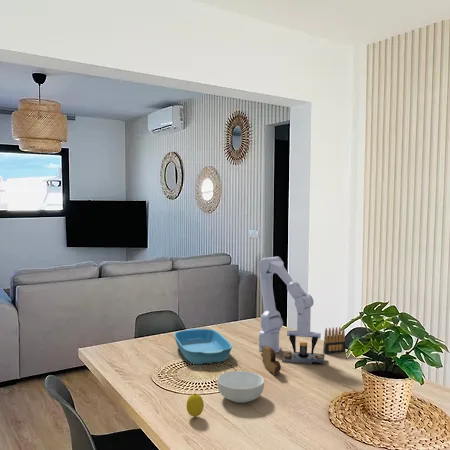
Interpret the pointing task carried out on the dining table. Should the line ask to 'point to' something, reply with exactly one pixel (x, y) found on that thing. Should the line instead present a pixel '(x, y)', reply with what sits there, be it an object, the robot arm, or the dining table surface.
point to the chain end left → (289, 358)
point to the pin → (303, 349)
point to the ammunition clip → (334, 341)
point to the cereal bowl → (240, 386)
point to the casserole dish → (203, 345)
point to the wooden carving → (270, 360)
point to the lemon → (195, 405)
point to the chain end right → (310, 357)
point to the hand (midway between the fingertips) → (303, 352)
